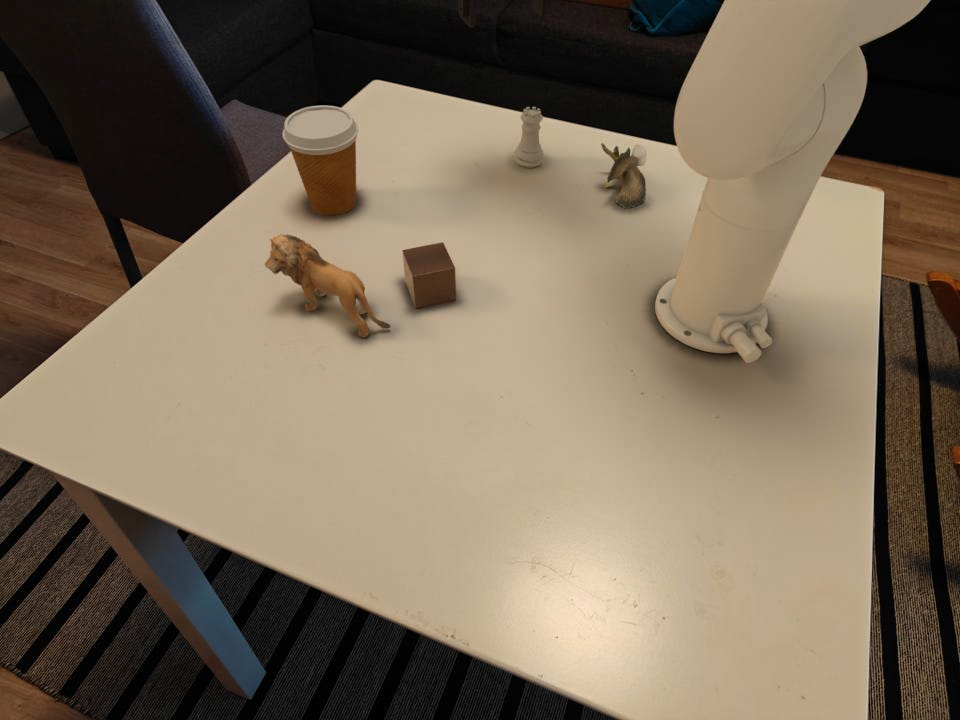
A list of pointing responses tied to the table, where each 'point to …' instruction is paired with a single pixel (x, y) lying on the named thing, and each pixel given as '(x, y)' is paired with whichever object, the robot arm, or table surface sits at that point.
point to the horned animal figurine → (628, 175)
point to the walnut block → (429, 275)
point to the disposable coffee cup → (324, 156)
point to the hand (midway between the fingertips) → (504, 18)
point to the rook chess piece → (530, 139)
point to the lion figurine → (320, 278)
